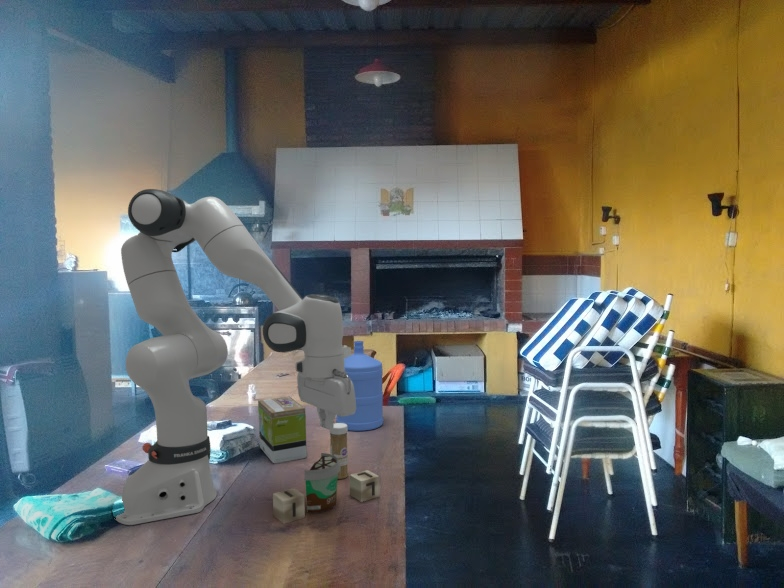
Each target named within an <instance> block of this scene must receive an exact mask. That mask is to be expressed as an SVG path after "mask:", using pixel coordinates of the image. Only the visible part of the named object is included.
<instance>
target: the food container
mask: <svg viewBox="0 0 784 588" xmlns="http://www.w3.org/2000/svg"><path fill="white" fill-rule="evenodd" d="M320 454H321V455H320V458H318V460H317V461H315V462H314V463H313V465H312V466H311V468H310V469H308V470H307V469H305V470H304V476H303V477H304V481H305V482H304V483H305V495H306V496H305V497H306V498H305V499H306V512H307V513H308V514H316V513H317V514H318V513H323V512H327V511H329V510H332V509H333V508H335V507H336V505H337V495H338V494H337V491H338V489H337V488H338V479H337V477H338V473H339V472H340V470H341V467H340V463H339V461H338V458H337V457H336V456H334V455H331V454H330V453H327V452H320Z"/></svg>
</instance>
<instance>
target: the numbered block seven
mask: <svg viewBox="0 0 784 588" xmlns="http://www.w3.org/2000/svg"><path fill="white" fill-rule="evenodd" d="M349 495H350V497H352V498H353V499H356V500H357V501H359V502H360V503H363V501H364V502H366V501H370V500H373V499H377V498H379V497H380V476H379V475H378V474H376V473H374V472H372V471H371V470H368V469H366V470H362V471H359V472H354V473H352V474H349Z"/></svg>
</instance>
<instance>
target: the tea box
mask: <svg viewBox="0 0 784 588" xmlns="http://www.w3.org/2000/svg"><path fill="white" fill-rule="evenodd" d="M257 402H258V403H257V404H258V405H257V408H258V411H257V412H258V432H259V448H260V449H261V450H262V451H263V453H264V454H265V455H266V457H267V458H268V459H269V460H270V461H271V462H272V463H276V464H281V462H282V463H286V462H292V461H296V460H297V461H298V460H302V459H306V458H307V457H308V456H307V455H308V454H307V453H308V451H307V423H306V421H307V419H306V418H307V417H306V416H307V415H306V407H305V406H303V405H302V404H300V403H299V402H298V401H297V400H295V399H294V398H292V397H291V396H289V395H288V396H281V397H274V398H269V399H261V400H257Z"/></svg>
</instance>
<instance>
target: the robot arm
mask: <svg viewBox="0 0 784 588" xmlns="http://www.w3.org/2000/svg"><path fill="white" fill-rule="evenodd" d="M127 213H128V214H127V216H128V219H129V221H130V223H131V224H132V226H133V227H134V228H135V229H137V231H139V232H138V234H136V235H133V236H131V237H130V238H128V239H126V240H125V241H124V242H123V244H122V245H121V248H120V254H121V263H122V269H123V272H124V278H125V281H126V284H127V287H128V291H129V293H130V295H131V299H132V302H133V304H134V307H135V311H136V313H137V316H138V317H139V318H140V319H141V320H142V321H143V322H145V323H146V324H149V325H150V326H152V327H154V328H155V329H157V331H158V332H159V333H160V334H161V336H156V337H150V338H148V339H146V340H143V341H141V342H139V343H137V344H134V345H133V346H132V347H131V348H130V349H129V350H128V352H127V354H126V358H125V370H126V374H127V375H128V377H129V379H130V380H131V381H132V383H134V385H136V386H138V387H139V388H141V389H142V390H143V391H144V392H145V393H146V395H147V396H148V397H149V400H150V401H151V403H152V405H153V409H154V410H153V411H154V416H155V427H156V442H154V444H153V443H152V444H151V443H150V442H145V443H144V444H143V445H142V448H141V449H142V451H143V452H144V453H146V454H147V456H148V460H147V461H146V462H144V463H143V464H142V465H141V466H140V467H139V468H138V469H137V470H135V471H134V472H133V473H132V474H131V475H130V476H129V477H127V478H126V480H125V483H124V485H123V488H122V495H121V498H122V501H123V505H124V509H125V511H124V513H122V514H120V515H117V516H116V519H115V521H117V522H118V523H119V524H122V525H125V526H133V525H139V524H144V523H149V522H155V521H160V520H161V521H162V520H165V519H171V518H177V517H181V516H186V515H192V514H197V513H200V512H202V511H203V510H204V508H205V507H206V506H207V505H208V504H210V503H211V502H213V501H214V500H215V499H216V498H217V495H218V493H217V490H216V487H215V484H214V481H213V480H214V479H213V476H212V471H211V463H210V460H211V448H212V447H211V441H210V436H209V435H208V409H207V408H208V407H207V405H206V403H205V402H204V401H203V400H202V399H201V398H199V397H197V396H195V395H193V393H192V390H191V387H190V380H192V379H196V378H199V377H203V376H207V375H209V374H211V373H212V372H214V371H216V370H218V369H220V368H222V366H223V365H224V364H225V363H226V362H227V359H228V354H229V353H228V350H229V349H228V345H227V342H226V339H225V338H224V337H223V336H222V335H221V334H220V333H219V332H217V331H215V330H213V329H212V328H210V327H209V326H207V325H206V323H205V322H203V320H202V319H201V318H200V317H199V316H198V315H197V313H196V312H195V310H194V309H193V308H192V306H191V305H190V303H189V301H188V298H187V296H186V293H185V290H184V288H183V287H182V284H181V281H180V278H179V275H178V273H177V270H176V267H175V264H174V261H173V257H172V254H173V253H179V252H181V251H183V249H185V248H186V247H187V246H189V245H191V244H193V243H195V242H196V243H197V244H198V245H199V246H200V249H201V250H202V252H203V253H204V255H206V257H207V259H208V260H209V262H210V264H212V265H213V266H214V268H216V269H217V270H218V271H219V272H220V273H221V274H223V275H225V276H226V277H227V276H228V277H230V278H234V279H238V280H241V281H245V282H248V283H250V284H252V285H254V286H256V287H257V288H258V289H260V290H261V291H262V292H263V293H264V295H266V297H268V299H269V300H270V301H271V302H272V304H273V305H274V306H275V307H276V308H277V310H278V311H275V312H273V313H271V314H269V315H268V316H267V317H266V319H265V320H264V323H263V325H262V338H263V341H264V342H265V344H266V346H267V347H268V348H270V350H272V351H273V352H276V353H282V354H283V353H284V354H285V353H291V352H294V351H297V350H298V351H299V350H302V351H303V352H304V358H303V359H302V360H300V361H296V362H295V366H294V367H295V370H296V371H295V372H297V376H296V380H297V383H296V384H297V393H298V394H297V395H298V398H299V400H300V401H301V402H303V403H306V404H308V405H311V406H314V407H316V411H317V415H318V418H319V420H320V422H319V424H320V427H322V428H323V429H326V430H330V429H332V428H333V427H334V420H335V419H336V417H337V415H339V416H342V417H343V416H349V415H353V414H354V413H355V411H356V399H355V391H354V386H353V383H352V381H351V379H350V378H349V377H348V374H347V373H346V372H345V364H344V349H343V346H342V345H343V337H344V319H343V313H342V312H343V311H342V308H341V307H342V306H341V304H340V301H339V300H338V299H337V298H336V297H333V296H331V295H327V294H326V295H325V294H318V293H315V294H314V293H313V294H312V293H311V294H307V295H305V296H304V297H302V295H301V294H300V293H299V292H298V291H297V289H296V288H295V287H294V285H292V283H291V282H290V281H289V279H287V277H286V276H285V274H284V273H283V272H282V271H281V270H280V269H279V268H278V266H277V265H276V264H275V263H274V262H273V261H272V260H271V259H270V257H269V256H268V255H267V254H266V253H265V251H264V250H263V249H262V248H261V246H260V245H259V244H258V243H257V241H256V240H255V239H254V237H253V236H252V234H251V233H250V231H248V228H246V226H245V225H244V223H243V222H242V221H241V219H240V218H239V217H238V216H237V215H236V213H234V211H233V210H232V208H230V207H229V206H228V205H227V204H226V203H225V202H224V201H223V200H221V199H220V198H218V197H215V196H206V197H202V198H199V199H198V200H196V201H194V202H193V203H188V202H187V201H186V200H184V199H182V198H180V197H179V196H176V195H173V194H171V193H170V192H169V191H164V190H161V189H157V188H156V189H155V188H148V189H143V190H139V191H138V192H136V194H134V195H133V197H132V198H131V200H129V203H128V207H127Z"/></svg>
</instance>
